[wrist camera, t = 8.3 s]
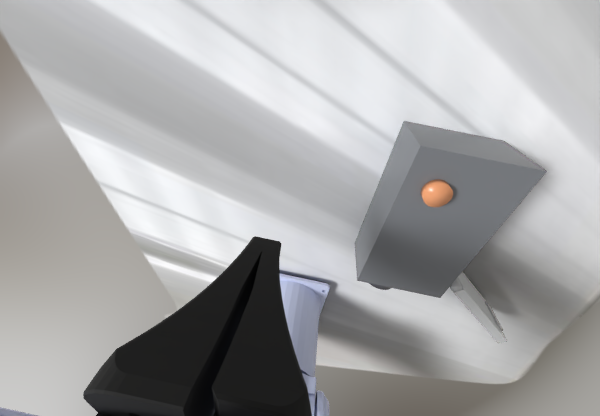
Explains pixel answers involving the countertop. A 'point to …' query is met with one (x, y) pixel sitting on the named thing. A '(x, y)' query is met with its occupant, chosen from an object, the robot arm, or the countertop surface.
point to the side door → (478, 306)
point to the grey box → (438, 207)
